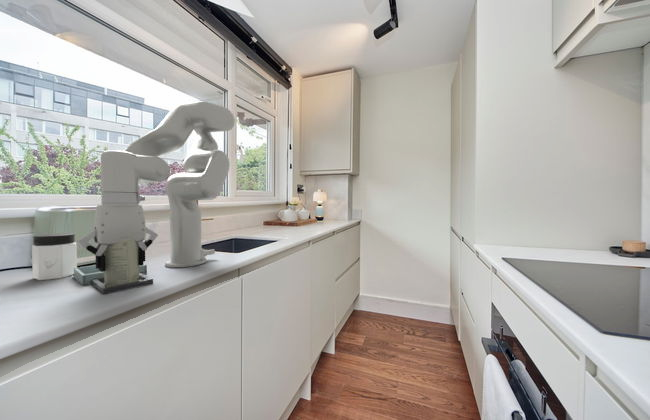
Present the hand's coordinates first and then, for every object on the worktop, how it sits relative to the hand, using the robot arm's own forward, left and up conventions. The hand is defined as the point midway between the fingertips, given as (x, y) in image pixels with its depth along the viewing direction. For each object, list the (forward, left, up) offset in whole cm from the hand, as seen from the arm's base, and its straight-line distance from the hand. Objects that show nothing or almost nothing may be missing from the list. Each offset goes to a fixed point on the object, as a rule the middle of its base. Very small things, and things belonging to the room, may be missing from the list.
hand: (121, 267), depth 65 cm
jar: (+9, -24, -5) cm, 26 cm away
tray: (-1, -13, -4) cm, 13 cm away
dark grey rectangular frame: (0, 0, -4) cm, 4 cm away
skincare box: (0, 0, -5) cm, 5 cm away
